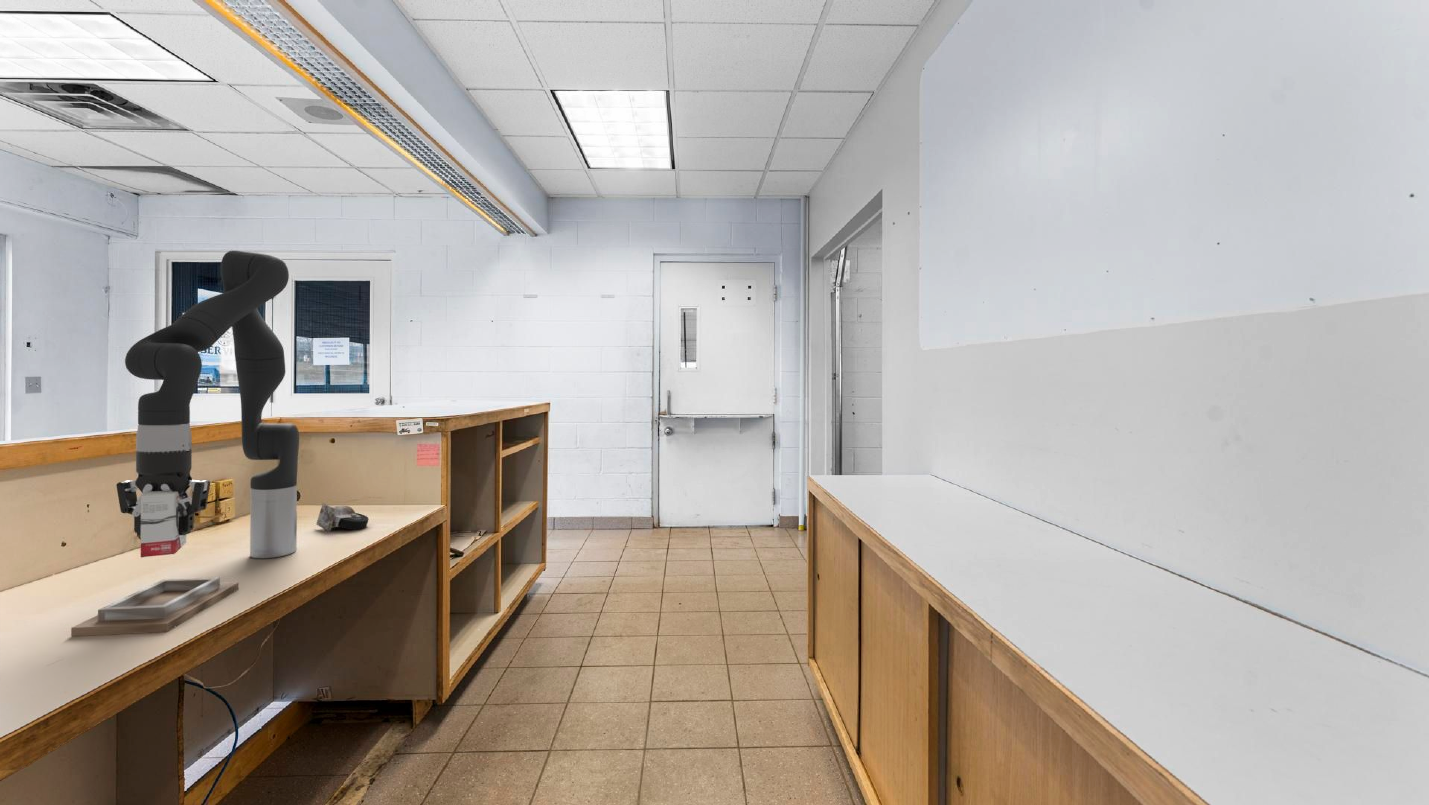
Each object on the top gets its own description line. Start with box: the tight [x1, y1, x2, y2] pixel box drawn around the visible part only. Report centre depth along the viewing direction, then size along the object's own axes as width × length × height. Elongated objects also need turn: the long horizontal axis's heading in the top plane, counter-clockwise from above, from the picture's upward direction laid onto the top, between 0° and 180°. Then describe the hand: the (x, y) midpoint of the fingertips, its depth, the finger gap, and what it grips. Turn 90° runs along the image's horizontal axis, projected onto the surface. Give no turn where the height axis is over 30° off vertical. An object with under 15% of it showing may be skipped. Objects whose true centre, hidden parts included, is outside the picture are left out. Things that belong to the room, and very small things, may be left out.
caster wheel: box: [316, 503, 369, 533], centre depth 166 cm, size 7×11×10 cm
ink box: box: [140, 491, 187, 559], centre depth 106 cm, size 9×5×12 cm, turn 33°
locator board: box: [70, 577, 240, 637], centre depth 107 cm, size 20×14×4 cm
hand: (164, 534), depth 106 cm, fingers closed on ink box, 6 cm apart
